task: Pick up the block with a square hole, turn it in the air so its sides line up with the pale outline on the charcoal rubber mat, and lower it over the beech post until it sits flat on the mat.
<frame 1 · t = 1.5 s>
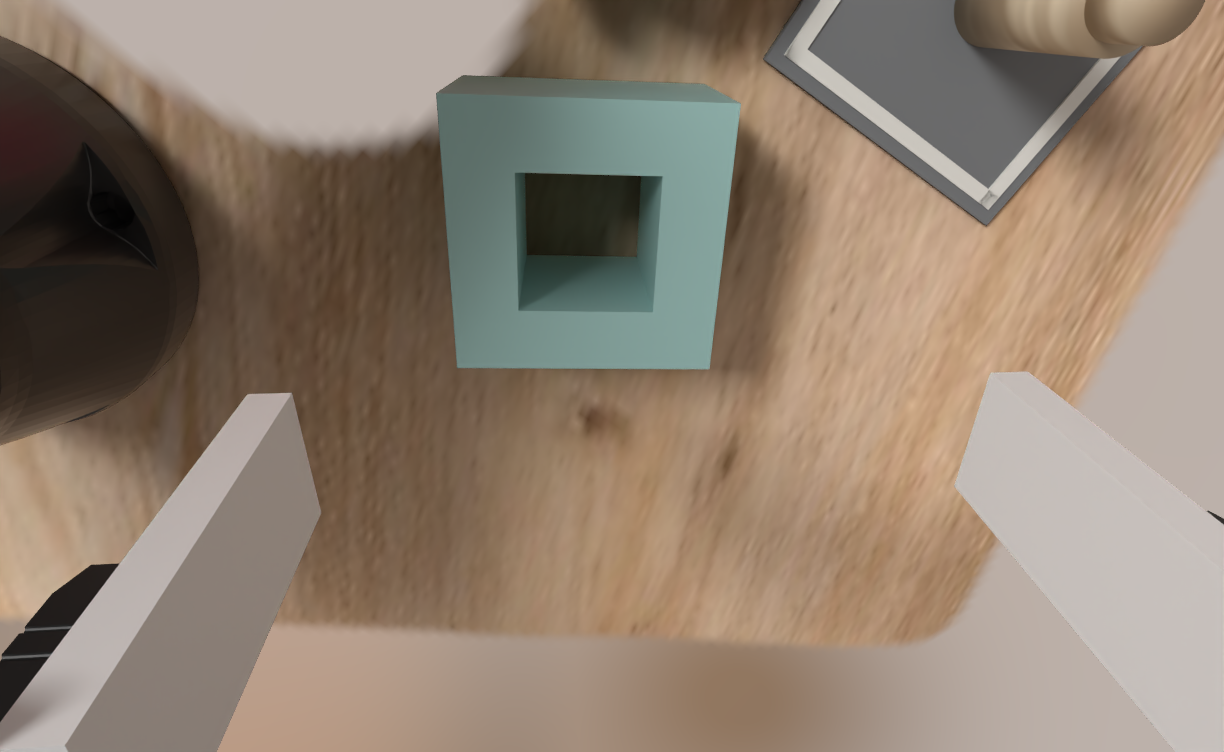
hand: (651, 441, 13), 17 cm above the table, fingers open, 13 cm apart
block with square hole: (582, 200, 28), on the table
mat: (990, 1, 25), on the table
post: (990, 1, 25), resting on mat
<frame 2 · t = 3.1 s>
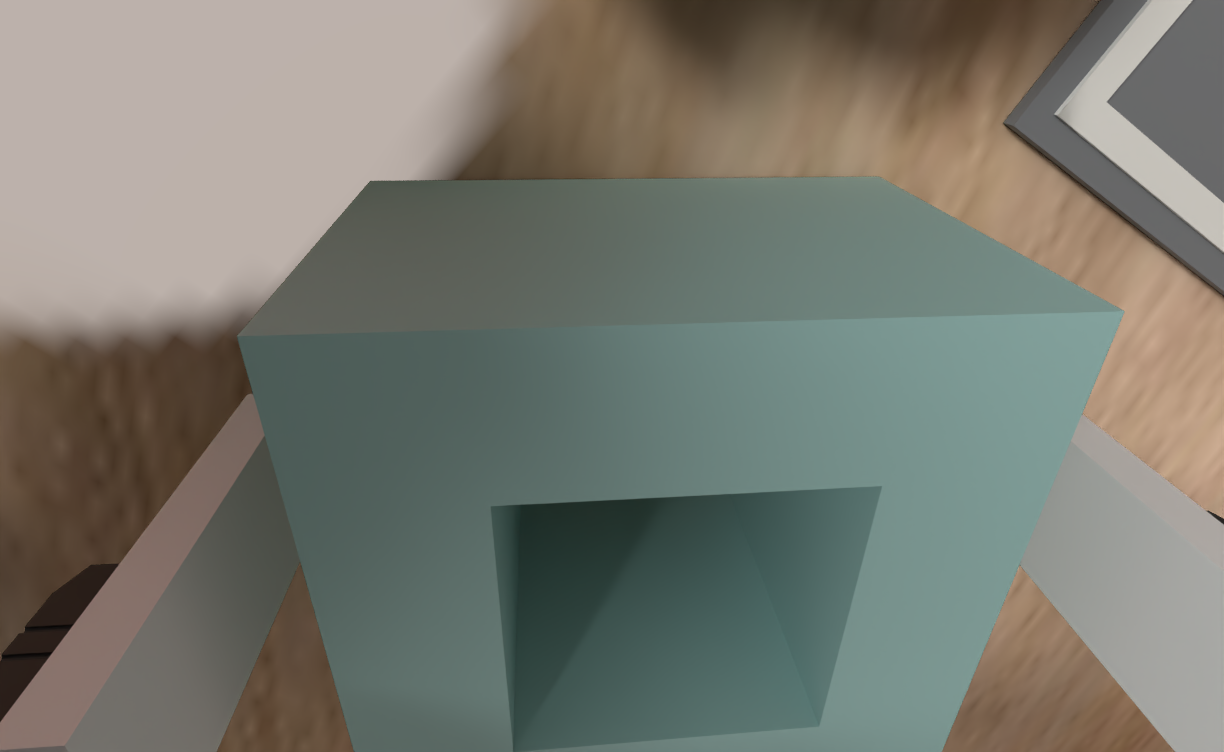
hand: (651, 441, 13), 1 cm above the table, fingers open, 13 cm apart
block with square hole: (626, 397, 14), on the table
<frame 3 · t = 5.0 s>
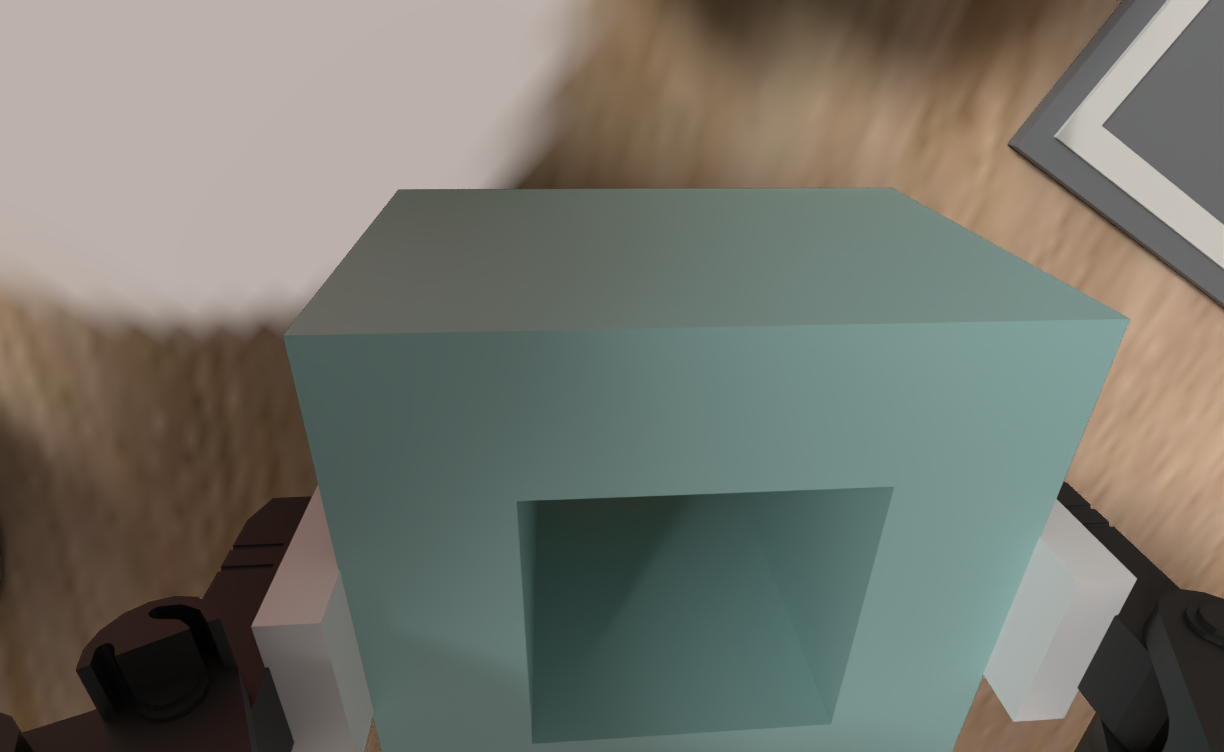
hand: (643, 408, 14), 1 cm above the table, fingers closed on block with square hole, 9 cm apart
block with square hole: (642, 402, 15), point 1 cm above the table, touching gripper
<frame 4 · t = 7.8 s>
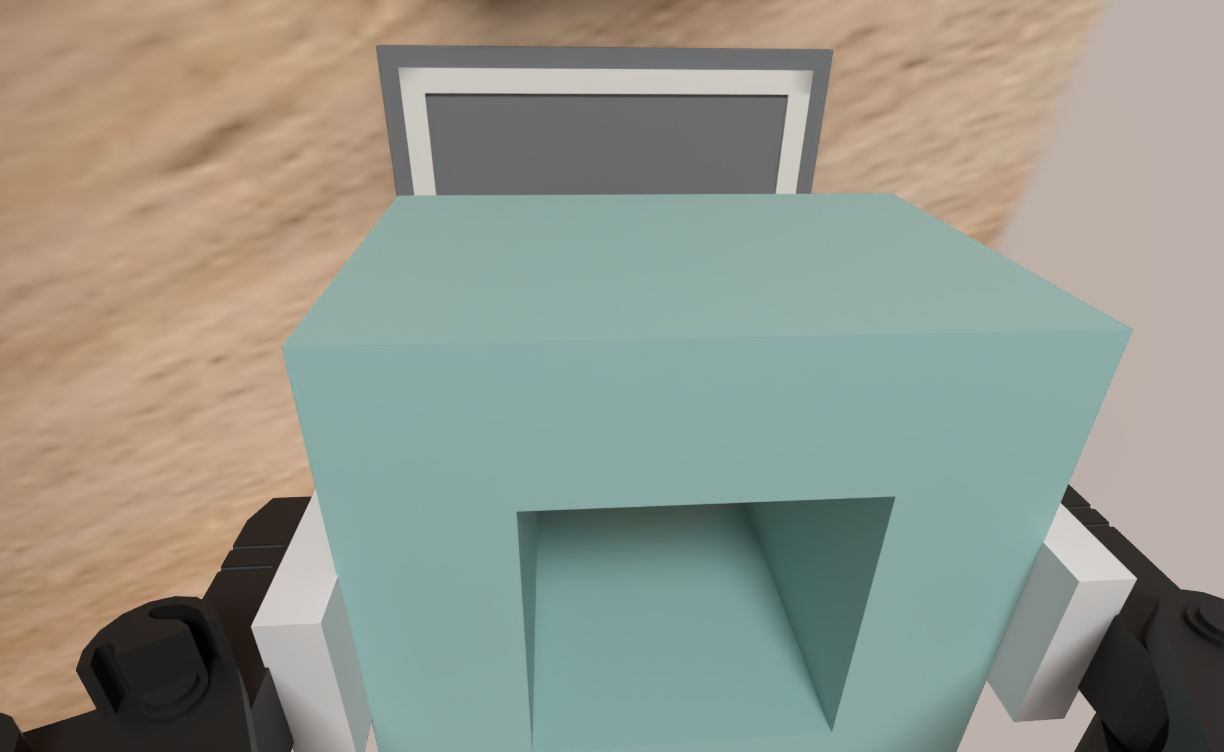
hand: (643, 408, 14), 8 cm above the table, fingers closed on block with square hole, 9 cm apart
block with square hole: (643, 407, 15), point 8 cm above the table, touching gripper
mat: (607, 262, 21), on the table
when the fingers open (1 cm above the table, at t = 9.9 s): block with square hole stays where it is, resting on mat.
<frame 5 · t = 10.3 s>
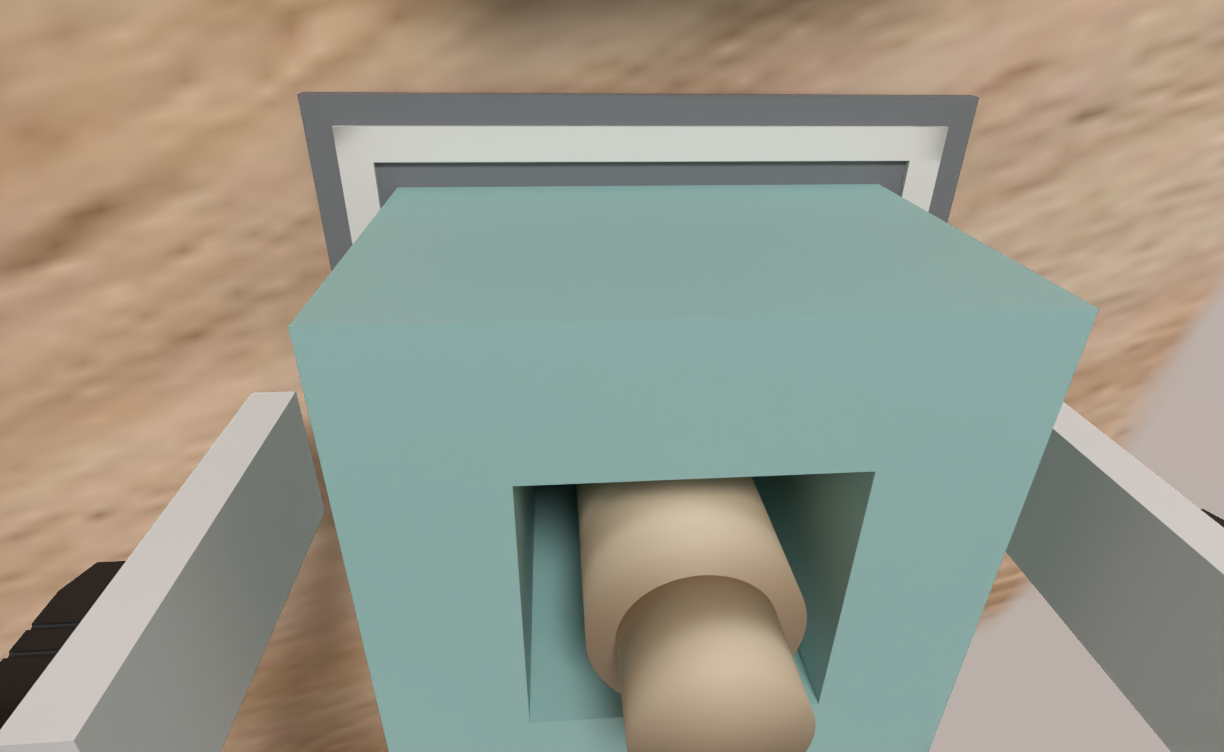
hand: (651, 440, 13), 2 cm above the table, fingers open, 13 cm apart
block with square hole: (637, 394, 15), resting on mat
mat: (638, 385, 15), on the table
post: (638, 385, 15), resting on mat
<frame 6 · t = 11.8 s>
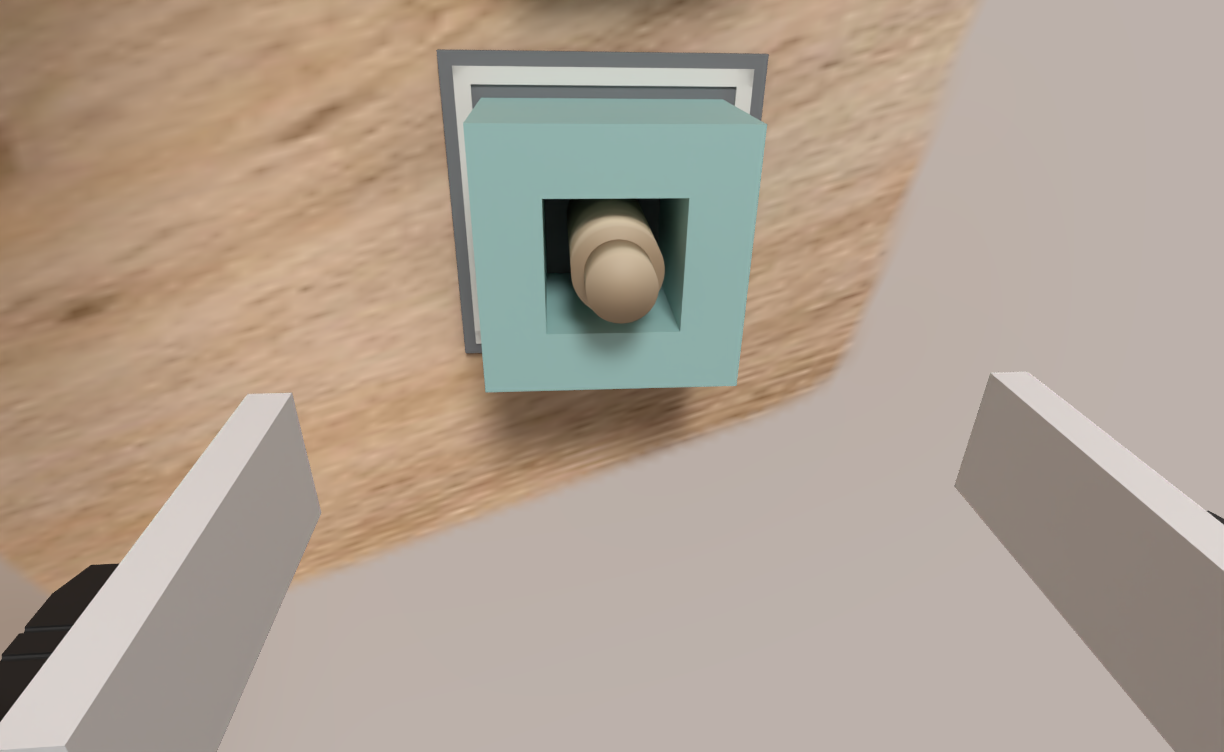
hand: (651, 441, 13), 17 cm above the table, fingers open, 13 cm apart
block with square hole: (602, 218, 28), resting on mat
mat: (603, 214, 28), on the table
post: (603, 214, 28), resting on mat
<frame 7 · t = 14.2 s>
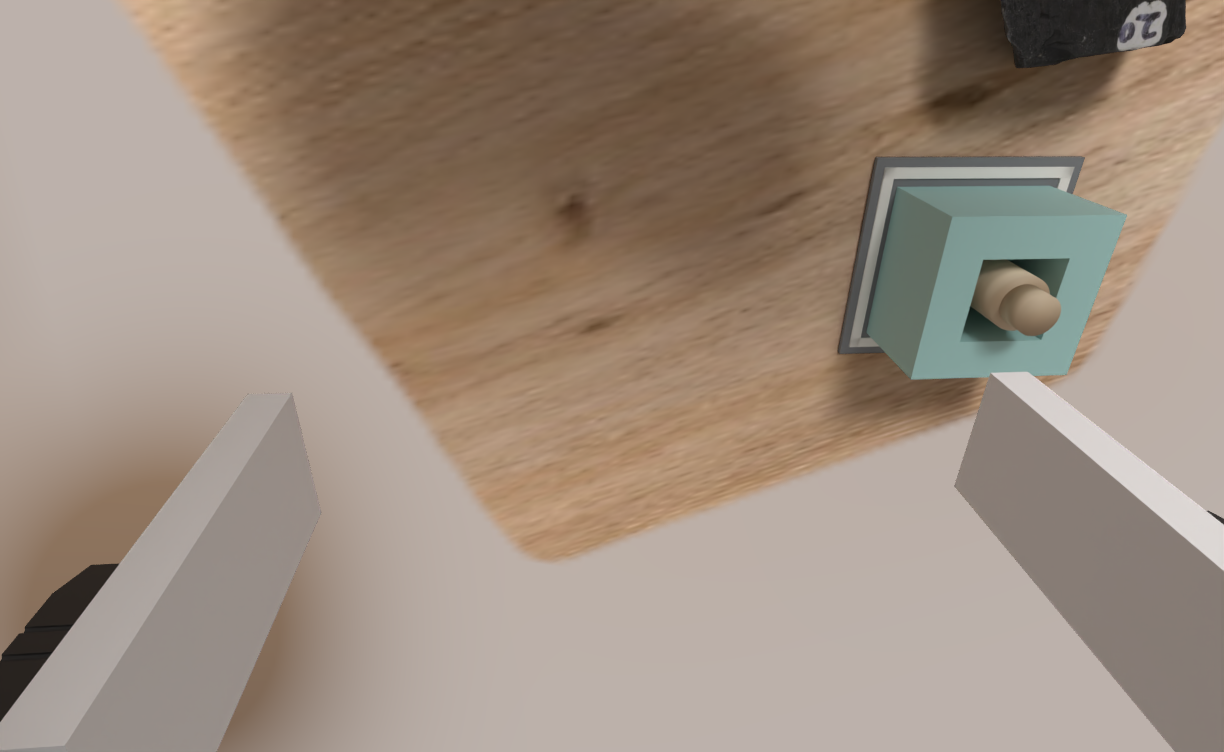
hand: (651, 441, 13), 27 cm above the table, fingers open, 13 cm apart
block with square hole: (953, 262, 41), resting on mat
mat: (952, 259, 41), on the table
post: (952, 259, 41), resting on mat
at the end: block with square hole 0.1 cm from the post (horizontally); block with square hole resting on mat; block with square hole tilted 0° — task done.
